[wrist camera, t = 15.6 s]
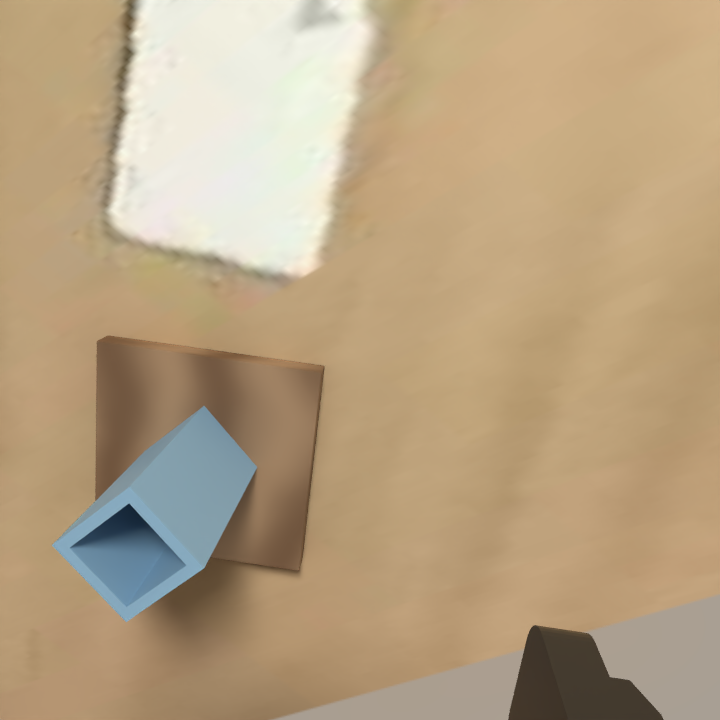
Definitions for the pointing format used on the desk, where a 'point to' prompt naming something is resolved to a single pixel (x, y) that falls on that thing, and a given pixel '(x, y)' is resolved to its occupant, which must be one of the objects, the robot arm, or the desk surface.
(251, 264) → the desk surface
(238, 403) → the peg board
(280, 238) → the desk surface
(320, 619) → the desk surface
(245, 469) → the sleeve
